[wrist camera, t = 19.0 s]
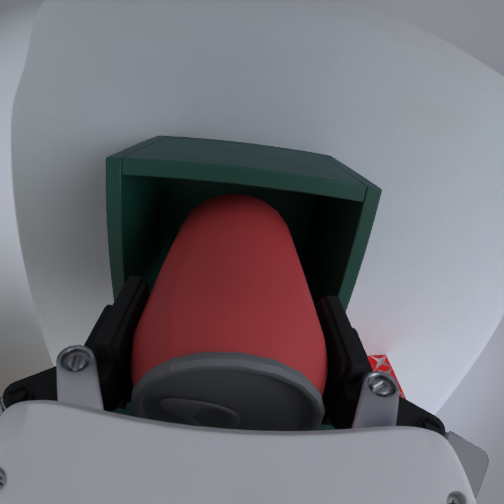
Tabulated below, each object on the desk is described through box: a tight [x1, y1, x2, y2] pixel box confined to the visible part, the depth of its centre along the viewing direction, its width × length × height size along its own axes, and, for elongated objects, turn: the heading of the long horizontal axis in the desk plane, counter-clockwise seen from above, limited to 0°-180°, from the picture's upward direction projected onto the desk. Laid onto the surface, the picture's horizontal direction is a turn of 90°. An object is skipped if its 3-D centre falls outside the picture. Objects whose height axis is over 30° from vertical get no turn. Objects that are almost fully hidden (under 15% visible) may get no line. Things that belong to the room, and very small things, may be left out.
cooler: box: [106, 136, 382, 312], centre depth 20 cm, size 13×13×9 cm
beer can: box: [130, 194, 328, 431], centre depth 13 cm, size 7×7×12 cm
